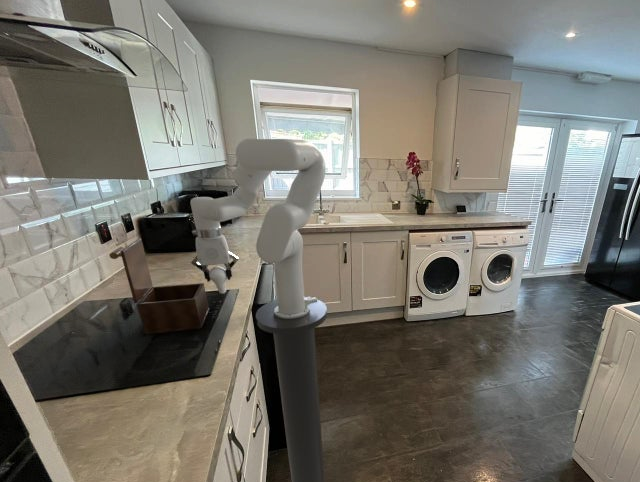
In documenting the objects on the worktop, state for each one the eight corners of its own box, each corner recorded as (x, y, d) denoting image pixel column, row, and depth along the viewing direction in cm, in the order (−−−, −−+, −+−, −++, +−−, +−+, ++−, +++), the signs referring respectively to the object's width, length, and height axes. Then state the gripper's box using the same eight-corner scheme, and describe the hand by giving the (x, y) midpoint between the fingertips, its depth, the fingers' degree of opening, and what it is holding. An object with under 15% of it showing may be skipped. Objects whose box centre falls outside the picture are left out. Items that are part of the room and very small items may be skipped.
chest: (209, 310, 119) (203, 283, 114) (201, 328, 107) (194, 299, 103) (159, 314, 114) (151, 286, 110) (145, 334, 102) (136, 304, 98)
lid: (141, 238, 103) (121, 239, 102) (123, 251, 91) (100, 251, 90) (152, 285, 109) (134, 286, 108) (137, 302, 98) (116, 304, 96)
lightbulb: (233, 289, 128) (226, 263, 123) (230, 295, 122) (223, 268, 118) (215, 291, 126) (209, 265, 122) (212, 298, 120) (205, 270, 116)
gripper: (178, 237, 109) (191, 285, 116) (234, 233, 114) (243, 280, 121) (184, 232, 116) (195, 278, 122) (237, 229, 121) (245, 274, 128)
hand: (219, 279), depth 122 cm, fingers closed on lightbulb, 6 cm apart
